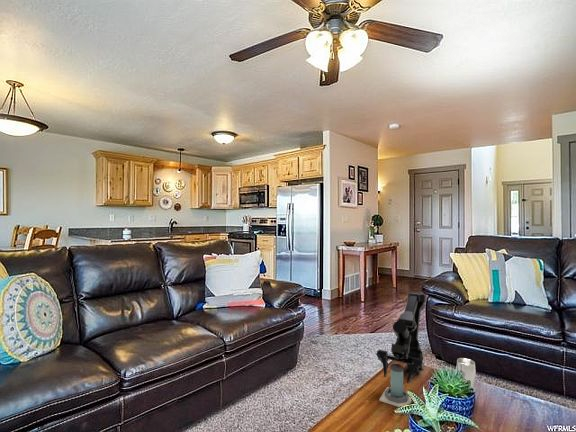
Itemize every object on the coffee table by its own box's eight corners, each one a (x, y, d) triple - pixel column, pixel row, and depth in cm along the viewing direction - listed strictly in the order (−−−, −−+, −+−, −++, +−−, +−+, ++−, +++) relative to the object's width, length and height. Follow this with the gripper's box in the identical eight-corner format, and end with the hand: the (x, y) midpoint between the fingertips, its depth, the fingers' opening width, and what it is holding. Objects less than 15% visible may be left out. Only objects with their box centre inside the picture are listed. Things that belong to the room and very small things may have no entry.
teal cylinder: (392, 392, 138) (392, 362, 138) (404, 395, 136) (404, 365, 136) (389, 397, 134) (389, 367, 134) (401, 401, 132) (401, 370, 131)
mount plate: (387, 388, 143) (387, 383, 143) (413, 396, 137) (413, 390, 137) (379, 400, 133) (379, 395, 133) (407, 409, 127) (407, 403, 127)
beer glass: (462, 390, 141) (462, 356, 141) (478, 398, 135) (478, 362, 135) (453, 395, 137) (453, 360, 137) (469, 403, 131) (469, 366, 131)
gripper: (377, 331, 143) (369, 366, 134) (422, 340, 133) (416, 378, 124) (383, 343, 150) (375, 376, 141) (426, 352, 140) (421, 389, 131)
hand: (396, 380), depth 134 cm, fingers open, 9 cm apart
